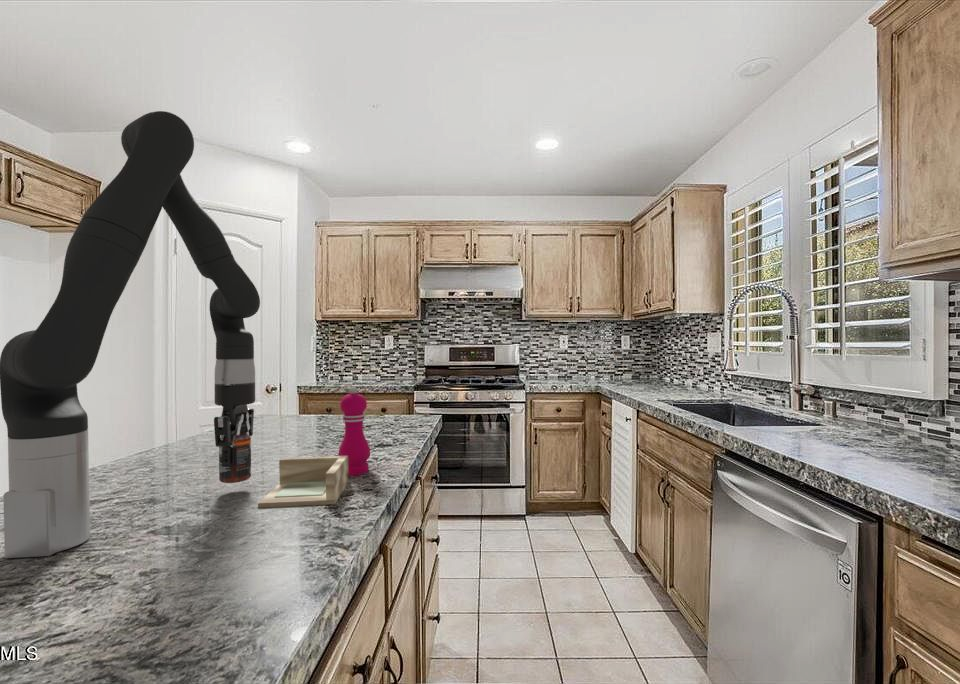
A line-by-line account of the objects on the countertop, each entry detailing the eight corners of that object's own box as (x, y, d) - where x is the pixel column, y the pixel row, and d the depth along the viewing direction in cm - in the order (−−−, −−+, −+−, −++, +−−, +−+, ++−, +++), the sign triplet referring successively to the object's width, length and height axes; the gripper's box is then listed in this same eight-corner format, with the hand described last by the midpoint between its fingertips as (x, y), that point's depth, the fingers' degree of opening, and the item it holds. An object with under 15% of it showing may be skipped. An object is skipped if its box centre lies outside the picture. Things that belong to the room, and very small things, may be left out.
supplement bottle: (257, 476, 102) (257, 422, 102) (240, 484, 96) (240, 427, 96) (230, 475, 103) (230, 422, 103) (212, 483, 97) (212, 427, 97)
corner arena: (334, 503, 91) (334, 473, 91) (258, 507, 89) (257, 476, 89) (348, 482, 105) (348, 455, 105) (282, 485, 103) (281, 458, 103)
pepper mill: (336, 470, 114) (334, 386, 114) (367, 466, 117) (365, 384, 117) (341, 478, 108) (339, 389, 108) (373, 473, 111) (372, 387, 111)
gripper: (231, 379, 106) (231, 455, 106) (199, 384, 92) (198, 472, 92) (266, 378, 107) (266, 454, 107) (239, 383, 93) (239, 471, 92)
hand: (235, 462), depth 99 cm, fingers closed on supplement bottle, 6 cm apart
